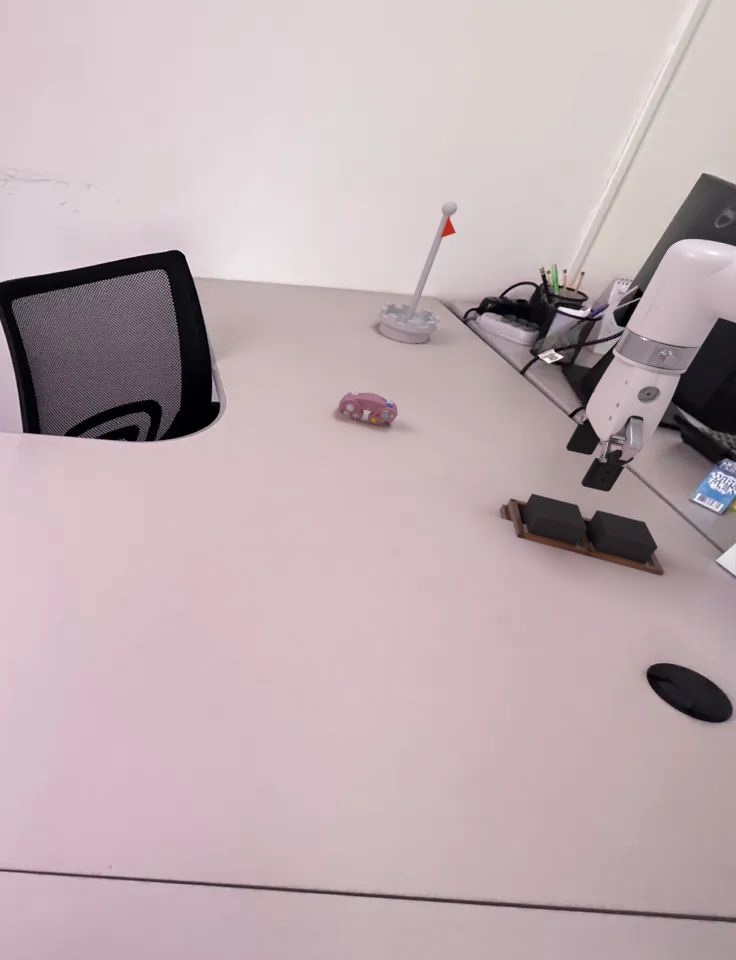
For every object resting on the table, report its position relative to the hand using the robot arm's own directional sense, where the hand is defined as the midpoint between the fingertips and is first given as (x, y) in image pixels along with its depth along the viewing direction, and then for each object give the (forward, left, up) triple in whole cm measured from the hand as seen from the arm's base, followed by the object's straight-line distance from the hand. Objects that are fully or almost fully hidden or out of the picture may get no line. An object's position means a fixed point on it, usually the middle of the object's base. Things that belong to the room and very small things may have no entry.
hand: (586, 469), depth 90 cm
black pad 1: (0, 0, -11) cm, 11 cm away
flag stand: (+19, -75, -12) cm, 78 cm away
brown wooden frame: (-4, 0, -12) cm, 13 cm away
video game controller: (+26, -24, -12) cm, 37 cm away
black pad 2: (-8, 0, -11) cm, 14 cm away
